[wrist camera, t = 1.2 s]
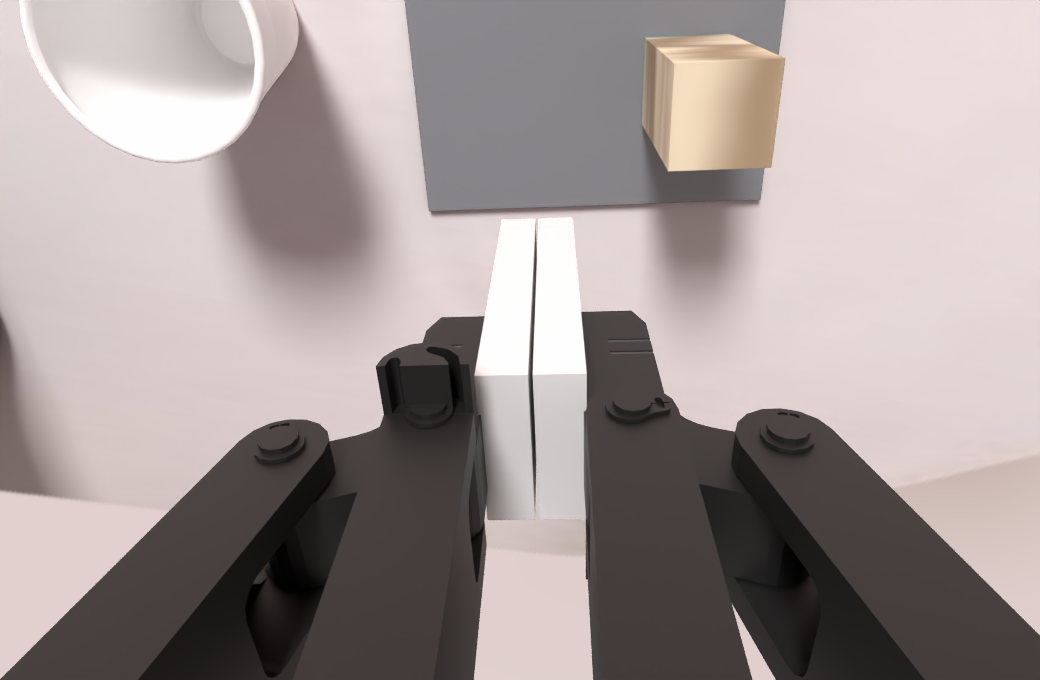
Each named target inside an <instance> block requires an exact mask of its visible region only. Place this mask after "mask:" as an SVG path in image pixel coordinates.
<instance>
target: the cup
mask: <svg viewBox="0 0 1040 680" xmlns="http://www.w3.org/2000/svg"><path fill="white" fill-rule="evenodd" d="M19 2H20V13H21V23H22V27H23V31H24V35H25V38H26V42H27V46H28V49H29V51H30V53H31V56H32V58H33V60H34V62H35V65H36V67H37V69H38V71H39V73H40V75H41V76H42V78H43V80H44V81H45V83H46V84H47V86H48V87H49V89H50V90H51V92H52V94H53V95H54V96H55V98H56V99H57V100H58V101H59V102H60V103H61V105H62V106H63V107H64V108H65V109H66V110H67V111H68V113H69V114H70V115H71V116H72V117H73V118H74V119H75V120H77V121H78V122H79V123H80V124H81V125H82V126H84V127H85V128H86V129H87V130H88V131H89V132H90V133H92V134H93V135H95V136H97V137H98V138H100V139H101V140H103V141H104V142H106V143H107V144H109V145H111V146H112V147H114V148H117V149H119V150H121V151H124V152H126V153H128V154H130V155H133V156H135V157H139V158H143V159H147V160H151V161H155V162H165V163H185V162H192V161H199V160H202V159H205V158H207V157H210V156H213V155H215V154H218V153H220V152H221V151H223V150H224V149H226V148H227V147H228V146H230V145H231V144H233V143H234V142H236V140H237V139H238V138H239V137H240V136H241V135H242V134H243V133H244V132H245V130H246V129H247V128H248V127H249V125H250V123H251V122H252V120H253V118H254V116H255V114H256V112H257V111H258V109H259V105H260V102H261V101H262V99H263V97H264V96H265V95H266V93H267V92H268V91H269V89H270V88H271V87H272V85H273V84H274V83H275V81H276V80H277V79H278V77H279V76H280V75H281V73H282V72H283V71H284V70H285V68H286V67H287V66H288V64H289V63H290V61H291V59H292V58H293V56H294V54H295V51H296V47H297V44H298V36H299V27H298V18H297V14H296V10H295V7H294V5H293V2H292V0H19Z"/></svg>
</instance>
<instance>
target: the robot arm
mask: <svg viewBox="0 0 1040 680" xmlns="http://www.w3.org/2000/svg"><path fill="white" fill-rule="evenodd" d="M376 370H377V376H378V382H379V388H380V394H381V399H382V405H383V411H384V416H383V419H382V422H381V425H380V427H379V428H376V429H374V430H372V431H370V432H367V433H363V434H360V435H357V436H352V437H348V438H343V439H339V440H334V441H329V437H328V432H327V431H326V430H325V429H324V428H323V427H322V426H321V425H320V424H318V423H315V422H311V421H308V420H284V421H280V422H279V421H278V422H274V423H270V424H268V425H266V426H263V427H261V428H259V429H256V430H254V431H252V432H251V433H250V434H248V435H247V436H246V437H244V438H243V439H242V440H240V441H239V442H238V443H237V444H236V445H235V446H234V447H233V448H232V449H231V450H230V451H229V452H228V453H227V454H226V455H225V456H224V457H223V458H222V459H221V460H220V461H219V462H218V463H217V464H216V465H215V466H214V467H213V468H212V469H211V470H210V471H209V472H208V473H207V474H206V475H205V476H204V477H203V478H202V479H201V480H200V481H199V482H198V483H197V484H196V485H195V486H194V487H193V488H192V489H191V490H190V491H189V492H188V493H187V494H186V495H185V496H184V497H183V498H182V499H181V500H180V501H179V502H178V503H177V504H176V505H175V506H174V507H173V508H172V509H171V510H170V511H169V512H168V513H167V514H166V515H165V516H164V517H163V518H162V519H161V520H160V521H159V522H158V523H157V524H156V525H155V526H154V527H153V528H152V529H151V530H150V531H149V532H148V533H147V534H146V535H145V536H144V537H143V538H142V539H141V540H140V541H139V542H138V543H137V544H136V545H135V546H134V547H133V548H132V549H131V550H130V551H129V552H128V553H127V554H126V555H125V556H124V557H123V558H122V559H121V560H120V561H119V562H118V563H117V564H116V565H115V566H114V567H113V568H112V569H111V570H110V571H109V572H108V573H107V574H106V575H105V576H104V577H103V578H102V579H101V580H100V581H99V582H98V583H97V584H96V585H95V586H94V587H93V588H92V589H91V590H89V591H88V593H87V594H85V596H83V598H82V599H81V600H80V601H79V602H77V603H76V604H75V606H73V607H72V608H71V609H70V610H69V612H67V613H66V614H65V615H64V616H63V617H62V618H61V619H60V620H59V621H58V622H57V624H55V625H54V626H53V627H52V628H51V629H50V631H49V632H47V633H46V634H45V635H44V636H43V637H42V638H41V639H40V640H39V641H38V642H37V643H36V644H35V645H34V646H33V647H32V648H31V649H30V651H28V652H27V653H26V654H25V655H24V656H23V657H22V658H21V659H20V660H19V661H18V662H17V663H16V664H15V665H14V666H13V667H12V668H11V669H10V670H9V671H8V672H7V673H6V674H5V675H4V676H3V677H2V678H1V679H0V680H474V670H475V660H476V649H477V638H478V629H479V618H480V608H481V597H482V587H483V576H484V565H485V555H486V534H485V524H484V518H485V509H486V507H487V518H488V520H535V497H536V461H537V484H538V506H539V520H547V519H586V579H588V591H589V609H590V627H591V646H592V665H593V680H752V677H751V673H750V669H749V666H748V663H747V658H746V655H745V651H744V647H743V644H742V640H741V637H740V633H739V629H738V626H737V622H736V618H735V615H734V611H733V607H732V604H733V606H734V608H735V609H736V611H737V613H738V615H739V616H740V618H741V620H742V622H743V623H744V625H745V627H746V629H747V630H748V632H749V634H750V635H751V637H752V639H753V641H754V642H755V644H756V646H757V648H758V649H759V651H760V653H761V654H762V656H763V658H764V659H765V662H766V663H767V665H768V666H769V668H770V670H771V672H772V674H773V675H774V677H775V679H776V680H1040V635H1039V634H1038V633H1037V632H1035V630H1034V629H1033V628H1032V627H1031V626H1030V625H1029V624H1028V623H1027V622H1026V621H1025V620H1024V619H1023V618H1022V617H1021V616H1019V614H1018V613H1016V612H1015V610H1014V609H1012V608H1011V606H1010V605H1008V603H1006V602H1005V601H1004V600H1003V599H1002V598H1001V597H1000V596H999V595H998V594H997V593H996V592H995V591H994V590H993V589H992V588H991V587H990V586H989V585H988V584H987V583H986V582H985V581H984V580H983V579H982V578H981V577H980V576H979V575H978V574H977V573H976V572H975V571H974V570H973V569H972V568H971V567H970V566H969V565H968V564H967V563H966V562H965V561H964V560H963V559H962V558H961V557H960V556H959V555H958V554H957V553H956V552H955V551H954V550H953V549H952V548H951V547H950V546H949V545H948V544H947V543H946V542H945V541H944V540H943V539H942V538H941V537H940V536H939V535H938V534H937V533H936V532H935V531H934V530H933V529H932V528H931V527H930V526H929V525H928V524H927V523H926V522H925V521H924V520H923V519H922V518H921V517H920V516H919V515H918V514H917V513H916V512H915V511H914V510H913V509H912V508H911V507H910V506H909V505H908V504H907V503H906V502H905V501H904V500H903V499H902V498H901V497H900V496H899V495H898V494H897V493H896V492H895V491H894V490H893V489H892V488H891V487H890V486H889V485H888V484H887V483H886V482H885V481H884V480H883V479H882V478H881V477H880V476H879V475H878V474H877V473H876V472H875V471H874V470H873V469H872V468H871V467H870V466H869V465H868V464H867V463H866V462H865V461H864V460H863V459H862V458H861V457H860V456H859V455H858V454H857V453H856V452H855V451H854V450H853V449H852V448H851V447H849V446H848V445H847V444H846V443H845V442H844V441H843V440H842V439H841V438H840V437H839V436H838V435H837V434H836V433H835V432H834V431H833V430H832V429H831V428H830V427H828V426H827V425H826V424H824V423H823V422H821V421H820V420H819V419H817V418H814V417H812V416H809V415H806V414H804V413H801V412H798V411H793V410H788V409H761V410H758V411H755V412H752V413H748V414H746V415H745V416H744V417H743V418H742V419H741V420H739V421H738V423H737V427H736V431H735V432H733V431H728V430H722V429H717V428H712V427H708V426H704V425H700V424H697V423H695V422H692V421H690V420H688V419H685V418H684V417H682V416H681V415H680V413H679V409H678V407H677V406H676V404H675V403H674V401H673V399H672V398H670V397H669V396H667V395H666V394H664V391H663V387H662V383H661V379H660V376H659V372H658V368H657V364H656V360H655V357H654V353H653V349H652V345H651V341H650V338H649V334H648V330H647V326H646V323H645V322H644V321H643V320H641V319H640V318H639V317H638V316H637V315H636V314H634V313H633V312H632V311H602V312H581V305H580V294H579V283H578V272H577V261H576V250H575V239H574V228H573V217H569V218H539V219H538V246H537V243H536V219H508V220H502V221H501V227H500V233H499V238H498V244H497V250H496V255H495V261H494V267H493V272H492V278H491V284H490V290H489V295H488V301H487V307H486V312H485V316H481V317H442V318H440V319H439V320H438V321H437V322H436V323H435V324H434V325H432V326H431V327H430V328H429V329H428V330H427V331H426V334H425V337H424V340H423V343H419V344H411V345H408V346H405V347H402V348H399V349H396V350H394V351H393V352H391V353H389V354H388V355H386V356H384V357H383V358H382V359H381V361H380V362H379V363H378V364H377V366H376Z"/></svg>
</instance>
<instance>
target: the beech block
mask: <svg viewBox="0 0 1040 680" xmlns="http://www.w3.org/2000/svg"><path fill="white" fill-rule="evenodd" d="M784 65H785V58H784V57H781V56H779V55H777V54H774V53H772V52H770V51H768V50H765V49H763V48H761V47H759V46H756V45H754V44H752V43H750V42H747V41H745V40H743V39H740V38H738V37H736V36H734V35H731V34H709V35H688V36H666V37H645V39H644V65H643V92H642V119H641V123H642V125H643V127H644V129H645V131H646V132H647V134H648V136H649V138H650V140H651V141H652V143H653V145H654V147H655V149H656V150H657V152H658V154H659V156H660V158H661V159H662V161H663V163H664V165H665V167H666V168H667V170H668V171H691V170H719V169H746V168H771V165H772V157H773V150H774V142H775V134H776V127H777V119H778V111H779V104H780V96H781V88H782V81H783V73H784Z"/></svg>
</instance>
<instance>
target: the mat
mask: <svg viewBox="0 0 1040 680" xmlns="http://www.w3.org/2000/svg"><path fill="white" fill-rule="evenodd" d="M405 7H406V16H407V25H408V33H409V42H410V51H411V60H412V68H413V77H414V86H415V94H416V103H417V112H418V121H419V129H420V138H421V147H422V155H423V164H424V173H425V182H426V190H427V199H428V208H429V211H443V210H472V209H501V208H530V207H559V206H589V205H618V204H647V203H676V202H705V201H734V200H760V199H761V191H762V183H763V175H764V168H746V169H719V170H691V171H668V170H667V168H666V167H665V165H664V163H663V161H662V159H661V158H660V156H659V154H658V152H657V150H656V149H655V147H654V145H653V143H652V141H651V140H650V138H649V136H648V134H647V132H646V131H645V129H644V127H643V125H642V123H641V119H642V92H643V65H644V39H645V37H666V36H688V35H709V34H731V35H734V36H736V37H738V38H740V39H743V40H745V41H747V42H750V43H752V44H754V45H756V46H759V47H761V48H763V49H765V50H768V51H770V52H772V53H774V54H777V55H779V47H780V39H781V32H782V24H783V16H784V8H785V0H405Z"/></svg>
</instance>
